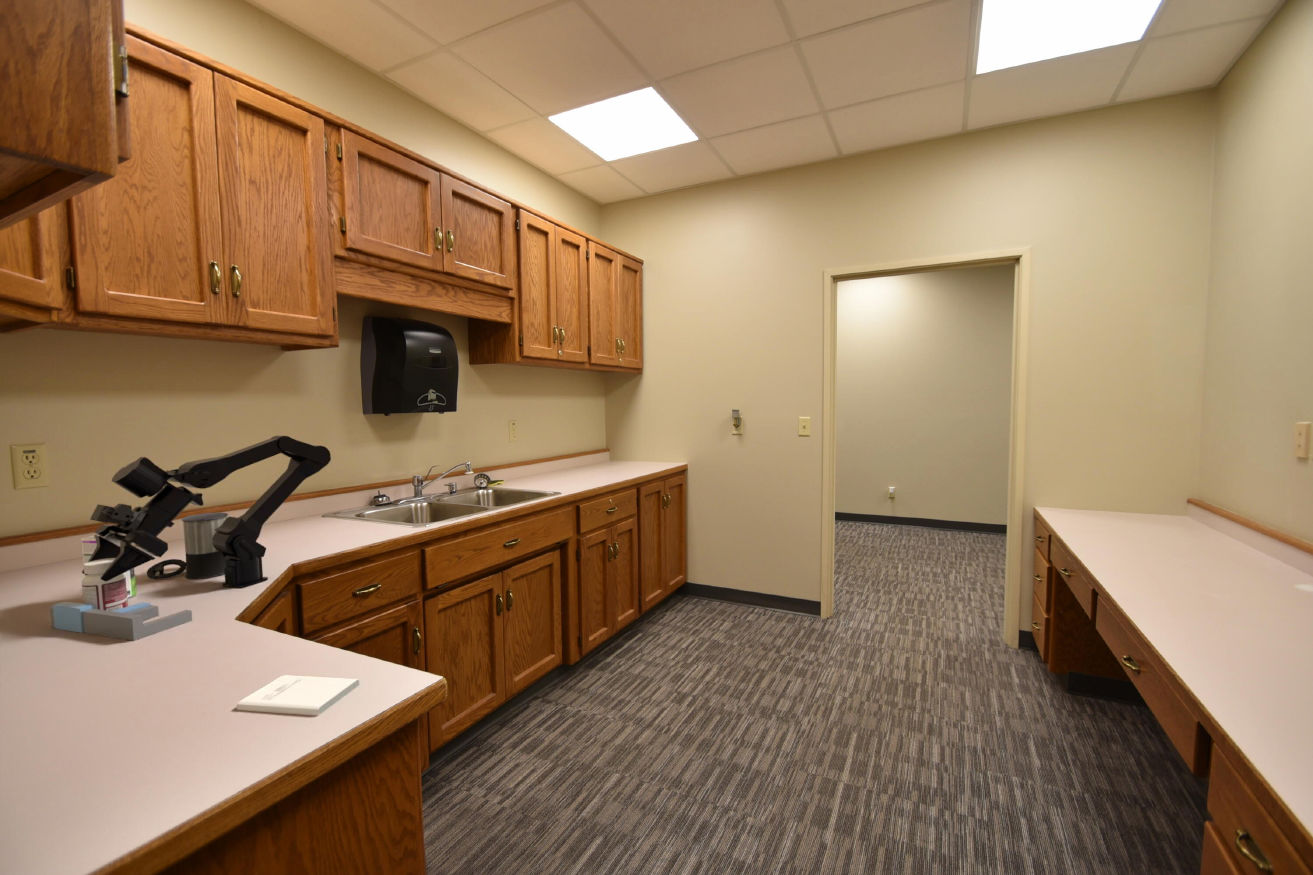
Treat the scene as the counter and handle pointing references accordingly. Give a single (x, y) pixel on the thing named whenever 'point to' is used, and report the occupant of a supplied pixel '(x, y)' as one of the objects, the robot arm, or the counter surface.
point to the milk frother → (196, 550)
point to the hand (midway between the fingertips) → (93, 576)
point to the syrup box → (87, 550)
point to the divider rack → (114, 620)
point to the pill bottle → (103, 587)
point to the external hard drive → (298, 695)
